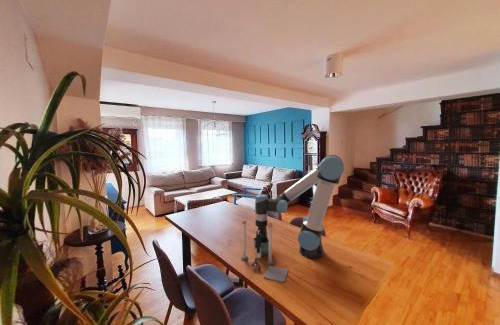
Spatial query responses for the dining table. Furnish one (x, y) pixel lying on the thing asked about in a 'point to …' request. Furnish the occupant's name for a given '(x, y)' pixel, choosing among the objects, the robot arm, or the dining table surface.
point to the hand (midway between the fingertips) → (261, 252)
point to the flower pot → (263, 245)
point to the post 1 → (244, 241)
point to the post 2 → (270, 246)
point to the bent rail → (256, 265)
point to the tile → (276, 274)
